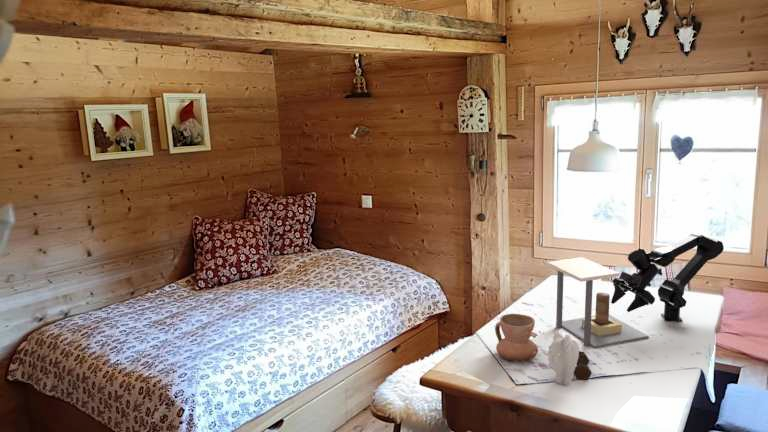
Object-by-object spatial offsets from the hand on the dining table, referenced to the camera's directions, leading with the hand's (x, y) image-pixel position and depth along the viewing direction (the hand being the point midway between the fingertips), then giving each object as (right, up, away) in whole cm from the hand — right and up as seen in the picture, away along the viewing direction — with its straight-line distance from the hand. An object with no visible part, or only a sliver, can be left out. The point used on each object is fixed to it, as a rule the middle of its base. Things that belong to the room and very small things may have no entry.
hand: (619, 307), depth 226 cm
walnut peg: (-7, -8, -1) cm, 11 cm away
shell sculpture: (-34, -19, -38) cm, 55 cm away
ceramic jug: (-45, -15, -19) cm, 51 cm away
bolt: (-25, -17, -30) cm, 43 cm away
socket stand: (-10, -9, -1) cm, 14 cm away
